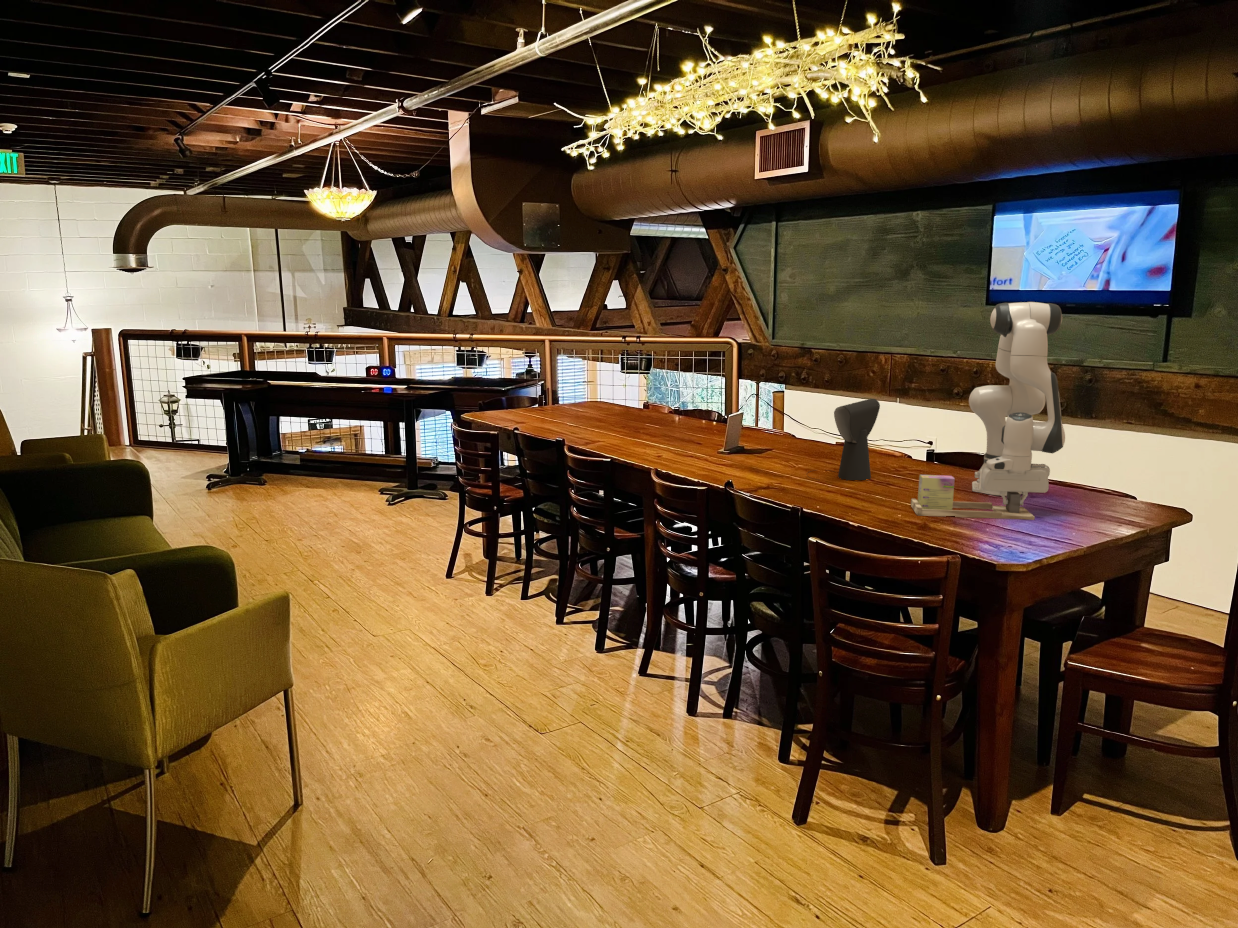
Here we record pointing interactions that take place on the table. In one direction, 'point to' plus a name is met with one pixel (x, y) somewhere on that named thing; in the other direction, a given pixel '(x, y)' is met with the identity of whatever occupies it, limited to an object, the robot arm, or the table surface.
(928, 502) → the box
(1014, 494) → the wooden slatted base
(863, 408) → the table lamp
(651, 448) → the table surface
